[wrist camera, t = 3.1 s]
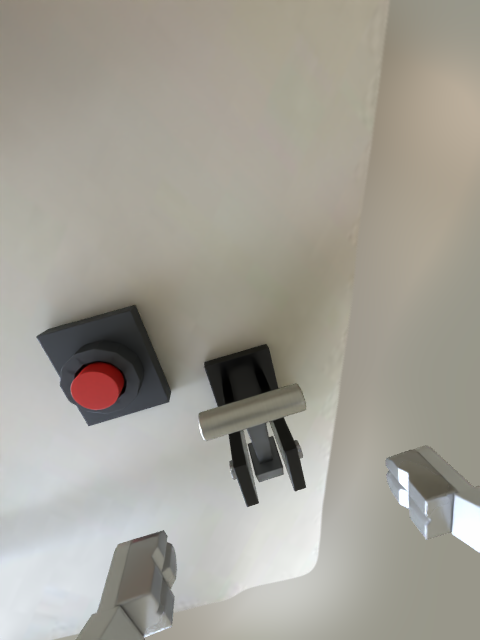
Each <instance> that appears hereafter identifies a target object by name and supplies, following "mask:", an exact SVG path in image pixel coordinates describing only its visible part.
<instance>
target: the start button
mask: <svg viewBox="0 0 480 640" xmlns="http://www.w3.org/2000/svg"><path fill="white" fill-rule="evenodd" d="M123 386H124V377H123V375H122V373H121V372H120V370H119V369H118V368H116V367H115V366H113V365H111V364H108V363H103V362H97V363H92V364H90V365H88V366H86V367H85V368H84V369H83V370H82V371H81V372H80V373H79V374H78V376H77V377H76V378H75V379H74V380H73V382H72V385H71V394H72V396H73V398H74V400H75V401H76V402H77V403H78V404H80V405H81V406H83V407H85V408H88V409H93V410H100V409H105V408H108V407H110V406H111V405H113V404H114V403H115V402H116V400H117V399H118V397H119V395H120V393H121V391H122V389H123Z"/></svg>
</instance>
